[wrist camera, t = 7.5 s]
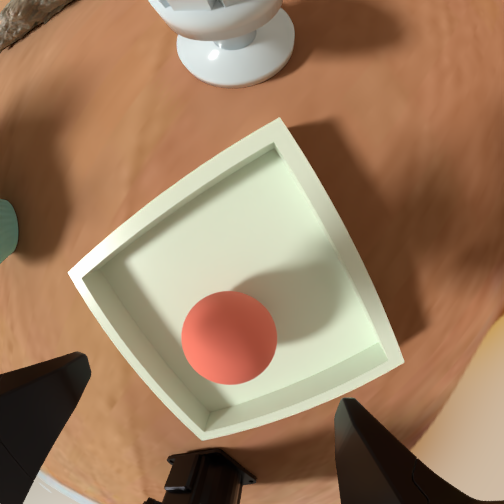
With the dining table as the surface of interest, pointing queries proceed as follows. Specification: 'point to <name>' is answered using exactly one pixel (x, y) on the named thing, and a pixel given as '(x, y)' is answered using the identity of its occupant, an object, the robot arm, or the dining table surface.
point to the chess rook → (230, 38)
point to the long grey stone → (25, 17)
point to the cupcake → (7, 229)
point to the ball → (229, 337)
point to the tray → (242, 286)
